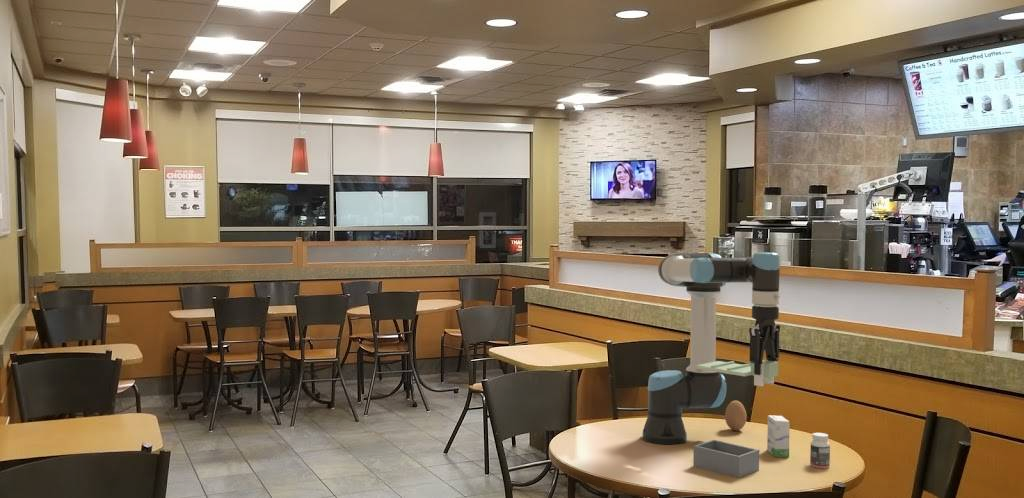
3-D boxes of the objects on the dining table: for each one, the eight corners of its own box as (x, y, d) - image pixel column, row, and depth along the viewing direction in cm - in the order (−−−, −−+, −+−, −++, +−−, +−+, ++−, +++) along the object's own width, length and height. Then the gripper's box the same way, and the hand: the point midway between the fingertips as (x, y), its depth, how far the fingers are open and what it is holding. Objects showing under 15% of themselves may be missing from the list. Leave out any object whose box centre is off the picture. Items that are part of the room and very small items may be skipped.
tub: (693, 468, 261) (693, 445, 261) (713, 461, 268) (714, 439, 268) (739, 480, 249) (739, 456, 249) (758, 472, 257) (759, 449, 256)
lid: (696, 368, 259) (696, 355, 259) (718, 364, 267) (718, 351, 267) (762, 379, 242) (763, 365, 242) (783, 374, 250) (784, 360, 250)
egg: (742, 427, 312) (742, 398, 311) (749, 432, 304) (749, 402, 304) (722, 427, 311) (722, 398, 311) (728, 433, 304) (728, 402, 303)
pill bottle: (807, 463, 267) (807, 432, 266) (824, 463, 267) (825, 431, 267) (815, 468, 261) (815, 436, 261) (832, 468, 262) (833, 436, 261)
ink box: (789, 457, 274) (790, 421, 273) (774, 457, 274) (775, 421, 273) (781, 450, 282) (781, 414, 282) (766, 449, 282) (767, 414, 282)
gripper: (760, 308, 239) (759, 390, 240) (792, 304, 251) (791, 382, 252) (737, 306, 244) (735, 386, 245) (769, 302, 257) (768, 378, 258)
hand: (764, 384), depth 249 cm, fingers closed on lid, 5 cm apart
